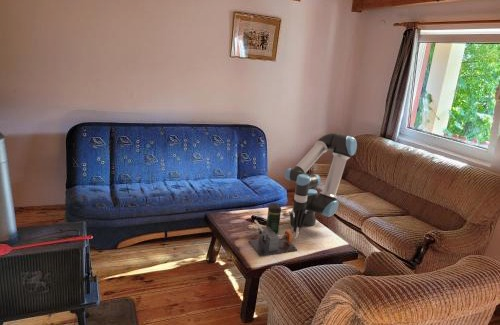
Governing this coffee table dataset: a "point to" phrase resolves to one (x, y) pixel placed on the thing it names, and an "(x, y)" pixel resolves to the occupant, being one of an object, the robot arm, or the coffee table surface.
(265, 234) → the hitch block
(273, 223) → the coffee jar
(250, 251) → the coffee table surface
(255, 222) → the keeper
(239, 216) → the coffee table surface
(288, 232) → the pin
